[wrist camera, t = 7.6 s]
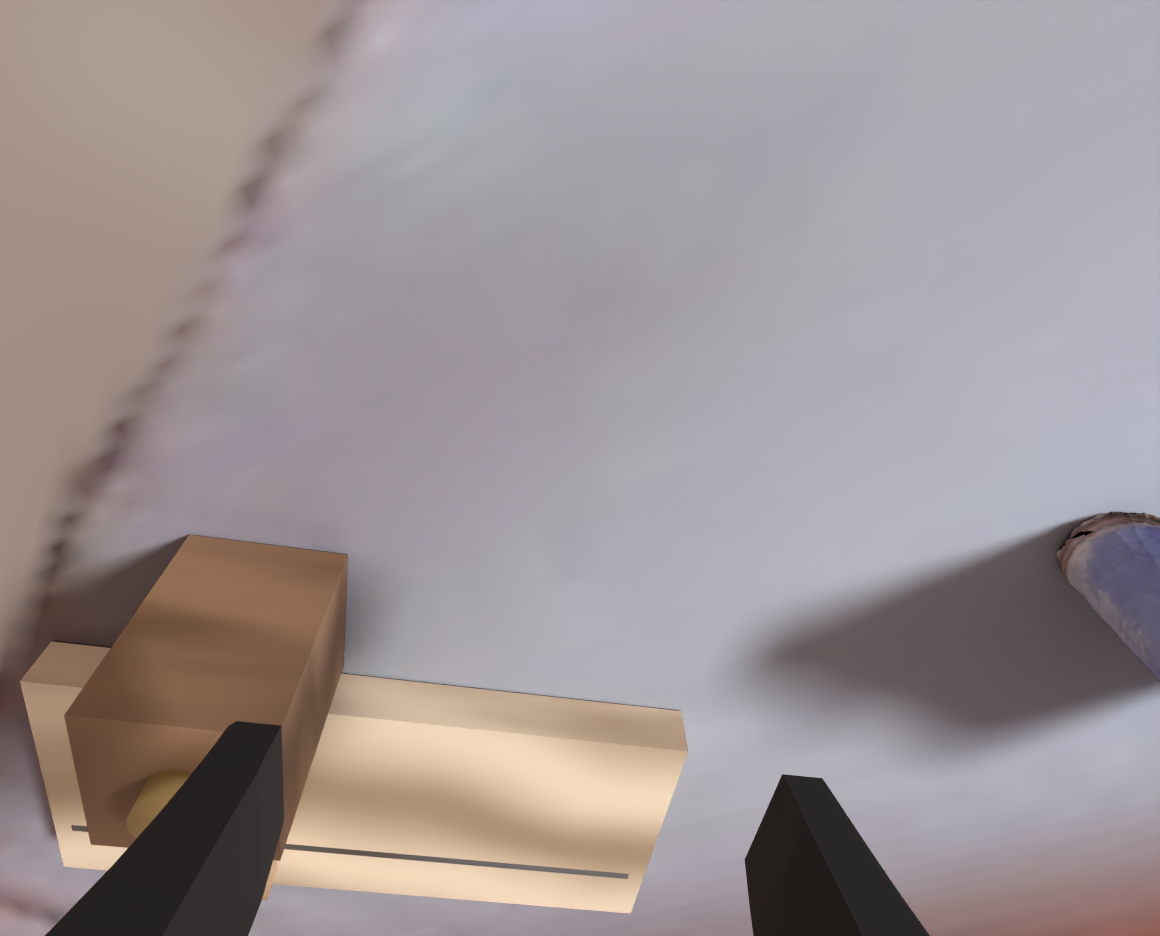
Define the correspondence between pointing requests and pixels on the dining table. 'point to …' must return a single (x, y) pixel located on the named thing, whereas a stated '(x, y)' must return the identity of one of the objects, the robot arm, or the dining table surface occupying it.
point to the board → (435, 790)
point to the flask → (1120, 577)
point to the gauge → (209, 678)
